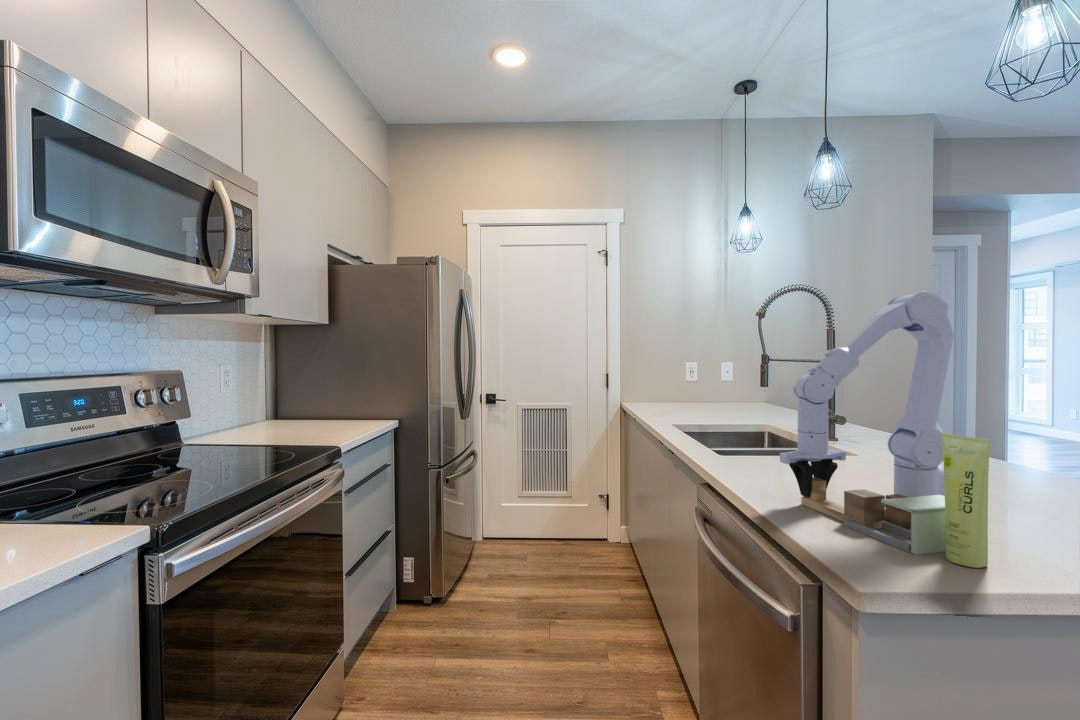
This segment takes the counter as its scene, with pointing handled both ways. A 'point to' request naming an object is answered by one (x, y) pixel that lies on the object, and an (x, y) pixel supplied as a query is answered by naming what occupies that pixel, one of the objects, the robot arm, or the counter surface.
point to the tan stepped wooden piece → (830, 504)
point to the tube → (966, 499)
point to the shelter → (924, 521)
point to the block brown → (897, 514)
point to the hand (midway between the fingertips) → (812, 495)
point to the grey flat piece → (883, 536)
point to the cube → (864, 505)
